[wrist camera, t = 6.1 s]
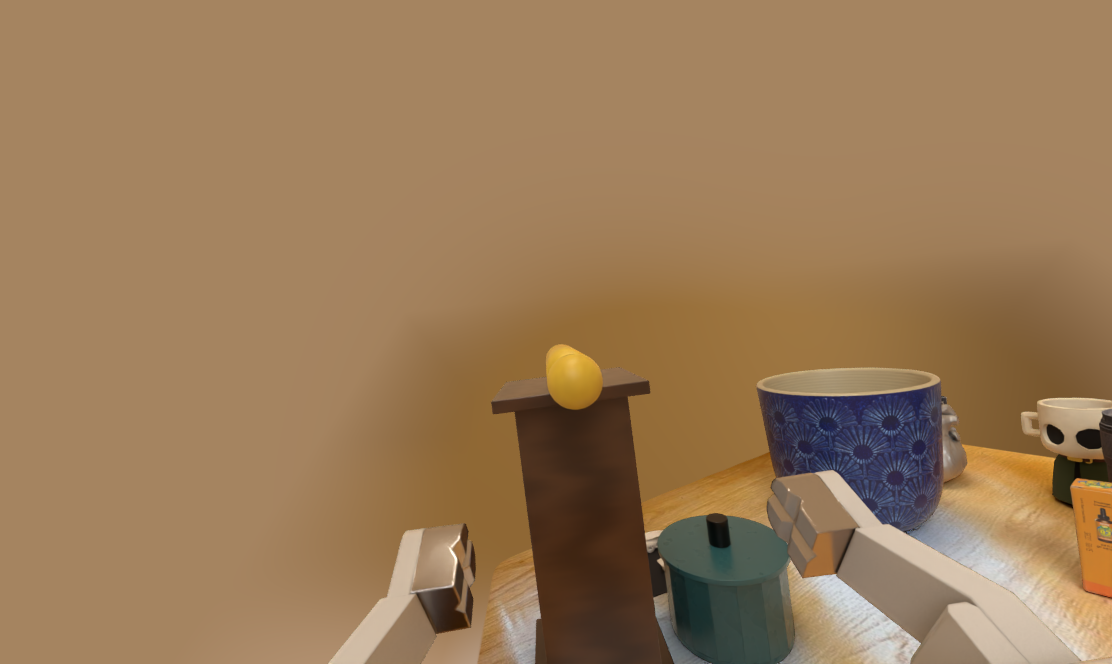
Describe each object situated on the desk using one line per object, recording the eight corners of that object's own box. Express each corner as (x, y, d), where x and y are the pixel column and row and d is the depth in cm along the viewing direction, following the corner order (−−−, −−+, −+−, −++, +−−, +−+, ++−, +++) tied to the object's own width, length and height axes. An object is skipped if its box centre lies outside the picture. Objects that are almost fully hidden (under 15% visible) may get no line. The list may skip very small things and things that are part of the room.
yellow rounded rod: (610, 410, 22) (602, 351, 22) (551, 418, 22) (543, 359, 22) (577, 371, 44) (573, 341, 44) (547, 375, 44) (544, 345, 44)
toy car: (713, 563, 51) (711, 550, 51) (668, 579, 49) (666, 565, 49) (673, 534, 59) (672, 522, 59) (633, 546, 57) (632, 534, 57)
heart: (880, 462, 73) (874, 398, 71) (949, 462, 70) (945, 394, 68) (902, 496, 64) (897, 423, 62) (983, 497, 60) (980, 421, 58)
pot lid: (680, 603, 35) (675, 559, 35) (645, 533, 47) (641, 501, 47) (821, 582, 35) (816, 539, 35) (750, 518, 47) (746, 486, 47)
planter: (897, 580, 44) (874, 400, 44) (741, 511, 63) (725, 386, 63) (995, 521, 52) (976, 370, 52) (830, 476, 71) (816, 365, 71)
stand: (535, 745, 31) (491, 401, 31) (537, 630, 43) (505, 382, 43) (692, 720, 32) (648, 380, 32) (651, 613, 44) (620, 367, 44)
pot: (695, 679, 35) (683, 591, 35) (659, 596, 46) (650, 529, 46) (822, 659, 35) (811, 572, 35) (756, 582, 46) (748, 515, 46)
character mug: (1017, 497, 57) (1005, 403, 57) (1042, 484, 60) (1031, 394, 60) (1153, 529, 47) (1139, 414, 47) (1175, 511, 50) (1162, 402, 49)
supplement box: (1146, 591, 38) (1133, 483, 38) (1141, 608, 36) (1127, 495, 36) (1088, 575, 41) (1075, 475, 41) (1081, 590, 39) (1068, 485, 39)
